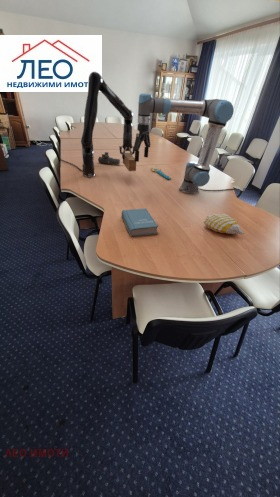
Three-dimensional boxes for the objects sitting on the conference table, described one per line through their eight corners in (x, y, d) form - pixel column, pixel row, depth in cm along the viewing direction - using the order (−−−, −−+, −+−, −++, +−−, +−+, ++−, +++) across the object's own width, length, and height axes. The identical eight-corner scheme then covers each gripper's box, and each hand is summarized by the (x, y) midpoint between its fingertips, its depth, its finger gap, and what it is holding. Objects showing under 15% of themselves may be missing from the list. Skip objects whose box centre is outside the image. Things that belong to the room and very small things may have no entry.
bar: (122, 162, 197) (122, 152, 192) (129, 162, 199) (129, 152, 194) (128, 171, 179) (129, 160, 174) (135, 170, 181) (136, 160, 176)
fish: (254, 225, 128) (232, 232, 118) (249, 236, 132) (228, 244, 123) (221, 208, 144) (199, 213, 134) (217, 218, 149) (196, 224, 139)
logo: (149, 168, 227) (150, 167, 227) (158, 168, 230) (158, 167, 229) (161, 179, 202) (161, 179, 201) (171, 179, 204) (171, 178, 204)
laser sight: (117, 166, 227) (117, 156, 221) (96, 163, 230) (96, 153, 224) (120, 163, 234) (120, 154, 229) (100, 161, 237) (99, 151, 231)
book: (157, 233, 128) (158, 226, 125) (130, 236, 123) (130, 229, 120) (145, 215, 145) (146, 208, 142) (121, 217, 141) (121, 210, 138)
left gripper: (134, 137, 187) (133, 157, 197) (118, 136, 183) (118, 157, 193) (137, 138, 181) (136, 160, 191) (119, 138, 178) (119, 160, 188)
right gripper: (139, 126, 127) (137, 164, 140) (157, 122, 146) (154, 156, 158) (128, 124, 130) (127, 162, 143) (147, 121, 148) (144, 154, 161)
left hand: (127, 158), depth 192 cm, fingers closed on bar, 6 cm apart
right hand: (141, 159), depth 150 cm, fingers open, 13 cm apart
